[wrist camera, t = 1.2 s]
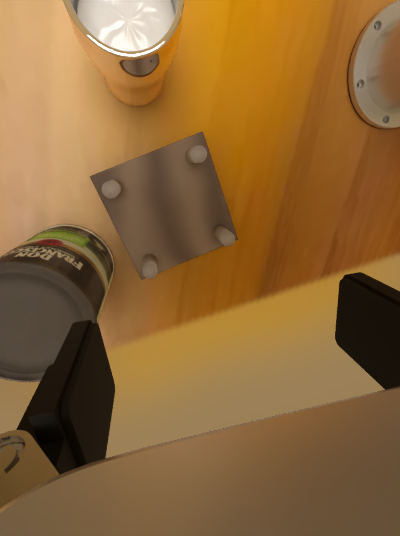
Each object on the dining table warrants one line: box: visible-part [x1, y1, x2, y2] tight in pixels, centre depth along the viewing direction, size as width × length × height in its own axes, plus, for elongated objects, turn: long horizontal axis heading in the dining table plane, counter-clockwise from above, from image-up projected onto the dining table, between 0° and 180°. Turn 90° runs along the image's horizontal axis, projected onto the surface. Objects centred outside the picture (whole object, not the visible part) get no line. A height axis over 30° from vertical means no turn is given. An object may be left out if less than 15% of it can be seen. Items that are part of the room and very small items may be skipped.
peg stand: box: [90, 131, 238, 280], centre depth 31 cm, size 13×13×6 cm
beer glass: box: [63, 0, 184, 106], centre depth 22 cm, size 7×7×15 cm
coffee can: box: [0, 224, 115, 382], centre depth 27 cm, size 10×10×14 cm
